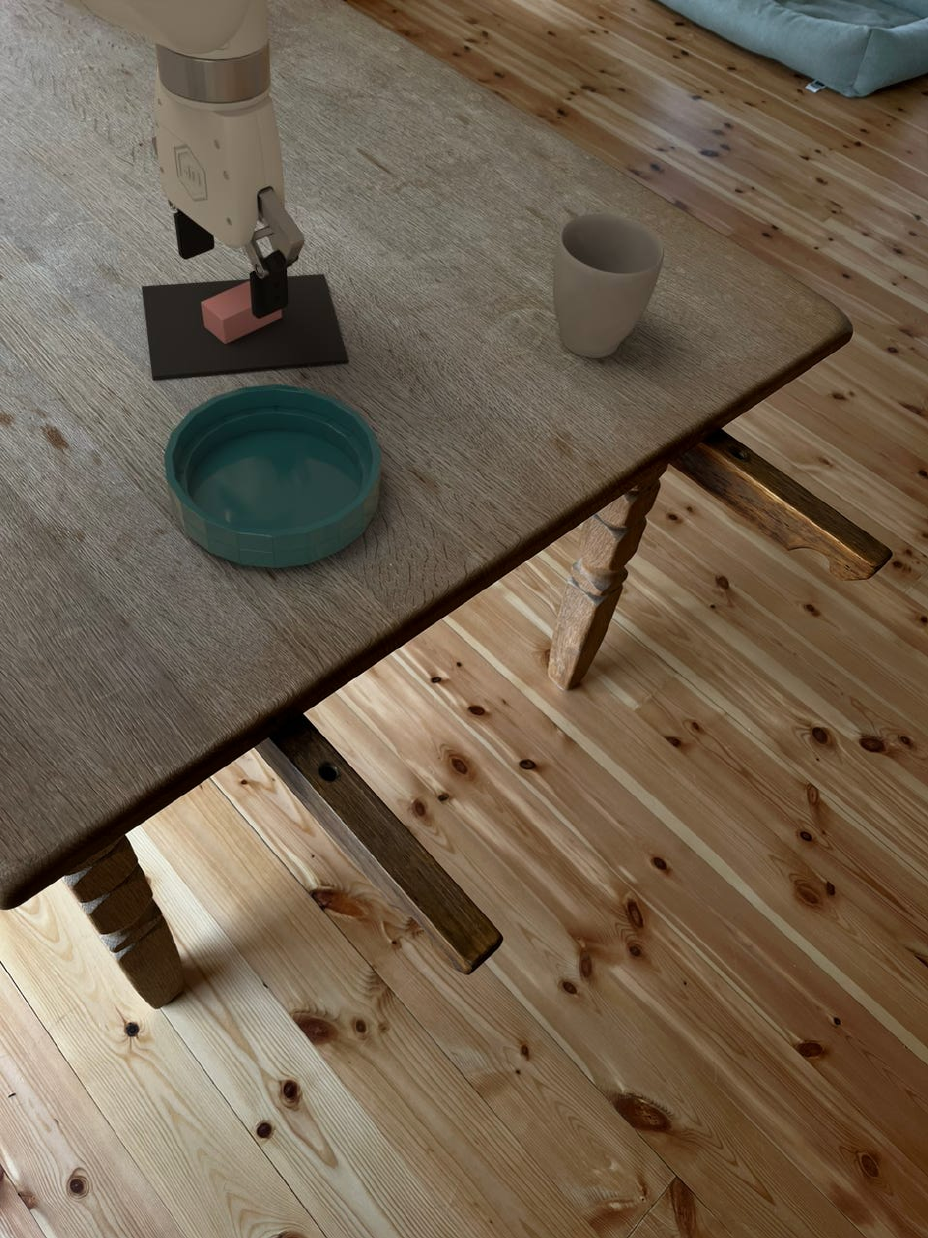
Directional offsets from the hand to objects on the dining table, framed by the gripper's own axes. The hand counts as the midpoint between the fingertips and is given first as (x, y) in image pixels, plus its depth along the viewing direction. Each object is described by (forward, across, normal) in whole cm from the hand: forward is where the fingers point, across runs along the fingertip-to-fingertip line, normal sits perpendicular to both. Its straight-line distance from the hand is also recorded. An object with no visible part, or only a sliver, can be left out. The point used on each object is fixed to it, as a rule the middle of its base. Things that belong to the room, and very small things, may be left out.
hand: (233, 281), depth 82 cm
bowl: (+5, +17, -9) cm, 20 cm away
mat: (+5, 0, +1) cm, 5 cm away
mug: (+5, +18, +25) cm, 31 cm away
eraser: (+5, 0, +1) cm, 5 cm away
